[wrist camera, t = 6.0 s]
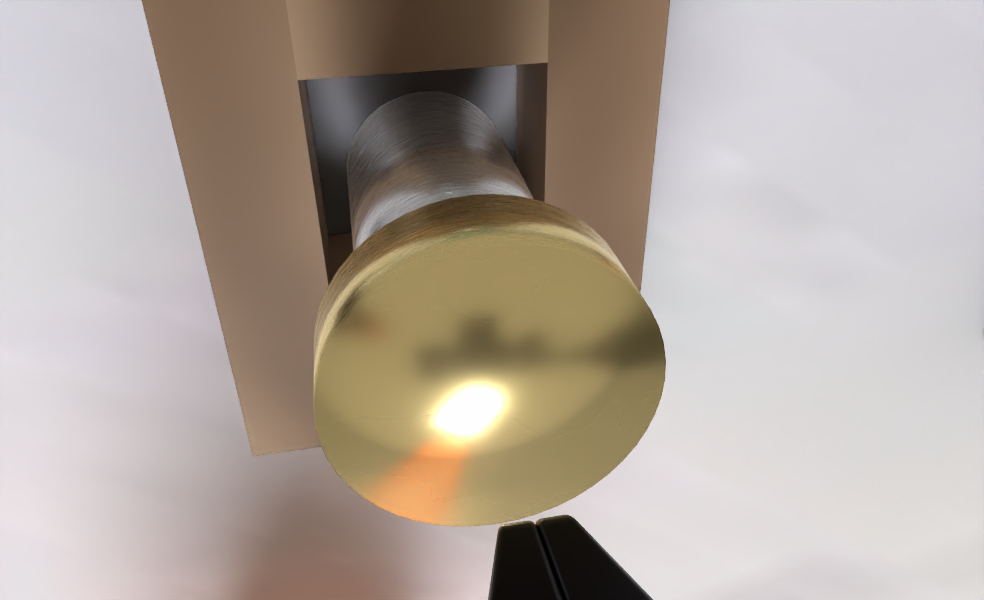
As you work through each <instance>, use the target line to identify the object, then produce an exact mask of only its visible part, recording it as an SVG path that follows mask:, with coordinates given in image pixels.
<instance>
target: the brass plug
mask: <svg viewBox="0 0 984 600" xmlns="http://www.w3.org/2000/svg"><path fill="white" fill-rule="evenodd" d="M347 181H348V194H349V206H350V218H351V230H352V242H353V252H352V253H351V254H350V256H349V257H348V258H347V259H346V261H345V262H344V263H343V264H342V266H341V267H340V268H339V269H338V271H337V272H336V274H335V276H334V277H333V279H332V281H331V282H330V284H329V286H328V287H327V289H326V292H325V294H324V297H323V299H322V302H321V304H320V307H319V311H318V315H317V319H316V323H315V333H314V417H315V426H316V430H317V434H318V437H319V441H320V444H321V446H322V448H323V451H324V453H325V455H326V457H327V459H328V461H329V462H330V464H331V465H332V467H333V468H334V469H335V471H336V472H337V474H338V475H339V476H340V477H341V478H342V479H343V480H344V481H345V482H346V483H347V484H348V485H349V486H350V488H352V489H353V490H354V491H356V492H357V493H358V494H359V495H361V496H362V497H363V498H365V499H366V500H368V501H370V502H371V503H373V504H375V505H377V506H378V507H380V508H382V509H384V510H387V511H389V512H391V513H394V514H396V515H398V516H402V517H405V518H408V519H412V520H415V521H419V522H425V523H430V524H436V525H448V526H481V525H490V524H498V523H503V522H508V521H513V520H518V519H521V518H525V517H528V516H532V515H535V514H538V513H541V512H543V511H546V510H548V509H551V508H553V507H556V506H558V505H560V504H562V503H564V502H566V501H568V500H570V499H572V498H574V497H576V496H578V495H579V494H581V493H582V492H584V491H586V490H587V489H589V488H590V487H592V486H593V485H595V484H596V483H597V482H599V481H600V480H601V479H603V478H604V477H605V476H607V475H608V474H609V473H610V472H611V471H612V470H613V469H614V468H616V467H617V466H618V465H619V464H620V463H621V462H622V461H623V460H624V459H625V458H626V457H627V455H628V454H629V453H630V452H631V451H632V450H633V448H634V447H635V446H636V445H637V443H638V442H639V440H640V439H641V437H642V436H643V435H644V433H645V432H646V430H647V428H648V426H649V424H650V422H651V421H652V419H653V417H654V415H655V412H656V410H657V407H658V404H659V401H660V399H661V395H662V391H663V386H664V381H665V367H666V359H665V350H664V343H663V339H662V336H661V332H660V329H659V326H658V324H657V322H656V320H655V318H654V316H653V314H652V312H651V310H650V308H649V307H648V305H647V303H646V302H645V300H644V299H643V297H642V296H641V294H640V292H639V291H638V289H637V288H636V286H635V285H634V283H633V281H632V280H631V278H630V277H629V275H628V274H627V272H626V271H625V269H624V267H623V266H622V264H621V263H620V261H619V260H618V258H617V256H616V255H615V254H614V252H613V251H612V249H611V248H610V247H609V245H608V244H607V243H606V241H605V240H604V239H603V238H602V237H601V236H600V235H599V234H598V233H597V232H596V231H595V230H594V229H593V228H591V227H590V226H589V225H587V224H586V223H585V222H583V221H582V220H581V219H579V218H578V217H576V216H574V215H572V214H570V213H569V212H567V211H565V210H563V209H561V208H559V207H556V206H553V205H551V204H548V203H545V202H543V201H540V200H535V199H534V198H533V196H532V194H531V193H530V191H529V189H528V187H527V185H526V183H525V181H524V179H523V177H522V176H521V174H520V172H519V170H518V168H517V166H516V164H515V162H514V160H513V159H512V157H511V155H510V153H509V151H508V149H507V147H506V145H505V143H504V142H503V140H502V138H501V136H500V134H499V132H498V130H497V128H496V127H495V125H494V124H493V122H492V121H491V120H490V118H489V117H488V116H487V115H486V114H485V113H484V112H483V111H482V110H481V109H479V108H478V107H477V106H475V105H474V104H473V103H471V102H469V101H467V100H466V99H463V98H461V97H458V96H456V95H453V94H449V93H445V92H437V91H421V92H414V93H409V94H405V95H402V96H399V97H397V98H394V99H392V100H390V101H388V102H386V103H385V104H383V105H381V106H380V107H379V108H377V109H376V110H375V111H374V112H372V113H371V114H370V115H369V116H368V117H367V118H366V119H365V121H364V122H363V123H362V125H361V126H360V127H359V129H358V130H357V132H356V134H355V136H354V138H353V140H352V143H351V145H350V148H349V153H348V157H347Z"/></svg>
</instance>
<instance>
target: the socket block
mask: <svg viewBox="0 0 984 600" xmlns="http://www.w3.org/2000/svg"><path fill="white" fill-rule="evenodd" d="M142 3H143V7H144V12H145V16H146V20H147V24H148V28H149V32H150V36H151V40H152V44H153V48H154V53H155V57H156V61H157V65H158V69H159V73H160V77H161V81H162V85H163V89H164V94H165V98H166V102H167V106H168V110H169V114H170V118H171V122H172V126H173V130H174V135H175V139H176V143H177V147H178V151H179V155H180V159H181V163H182V167H183V171H184V175H185V180H186V184H187V188H188V192H189V196H190V200H191V204H192V208H193V212H194V216H195V221H196V225H197V229H198V233H199V237H200V241H201V245H202V249H203V253H204V257H205V262H206V266H207V270H208V274H209V278H210V282H211V286H212V290H213V294H214V298H215V303H216V307H217V311H218V315H219V319H220V323H221V327H222V331H223V335H224V339H225V344H226V348H227V352H228V356H229V360H230V364H231V368H232V372H233V376H234V380H235V385H236V389H237V393H238V397H239V401H240V405H241V409H242V413H243V417H244V421H245V426H246V430H247V434H248V438H249V442H250V446H251V450H252V454H253V456H256V455H264V454H271V453H278V452H285V451H293V450H300V449H307V448H315V447H322V446H321V444H320V441H319V437H318V434H317V430H316V426H315V417H314V333H315V323H316V319H317V315H318V311H319V307H320V304H321V302H322V299H323V297H324V294H325V292H326V289H327V287H328V286H329V284H330V282H331V281H332V279H333V277H334V276H335V274H336V272H337V271H338V269H339V268H340V267H341V266H342V264H343V263H344V262H345V261H346V259H347V258H348V257H349V256H350V254H351V253H352V252H353V242H352V233H346V234H336V235H328V230H327V223H326V216H325V210H324V203H323V196H322V189H321V182H320V175H319V168H318V161H317V154H316V147H315V140H314V133H313V126H312V119H311V112H310V105H309V98H308V92H307V85H306V80H309V79H323V78H338V77H352V76H366V75H380V74H394V73H408V72H422V71H436V70H450V69H464V68H478V67H492V66H506V65H517V168H518V170H519V172H520V174H521V176H522V177H523V179H524V181H525V183H526V185H527V187H528V189H529V191H530V193H531V194H532V196H533V198H534V199H535V200H540V201H543V202H545V203H548V204H551V205H553V206H556V207H559V208H561V209H563V210H565V211H567V212H569V213H570V214H572V215H574V216H576V217H578V218H579V219H581V220H582V221H583V222H585V223H586V224H587V225H589V226H590V227H591V228H593V229H594V230H595V231H596V232H597V233H598V234H599V235H600V236H601V237H602V238H603V239H604V240H605V241H606V243H607V244H608V245H609V247H610V248H611V249H612V251H613V252H614V254H615V255H616V256H617V258H618V260H619V261H620V263H621V264H622V266H623V267H624V269H625V271H626V272H627V274H628V275H629V277H630V278H631V280H632V281H633V283H634V285H635V286H636V288H637V289H638V291H639V292H640V290H641V281H642V271H643V261H644V251H645V241H646V232H647V222H648V212H649V202H650V192H651V182H652V173H653V163H654V153H655V143H656V133H657V124H658V114H659V104H660V94H661V84H662V75H663V65H664V55H665V45H666V35H667V25H668V16H669V6H670V0H142Z"/></svg>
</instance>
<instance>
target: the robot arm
mask: <svg viewBox="0 0 984 600" xmlns="http://www.w3.org/2000/svg"><path fill="white" fill-rule="evenodd" d="M488 600H653V599H652V598H651V597H650V596H649V595H648V594H647V593H646V592H645V591H644V590H643V589H642V588H641V587H640V586H639V585H638V584H637V583H636V582H635V581H634V580H633V578H632V577H631V576H630V575H629V574H628V573H627V572H626V571H625V570H624V569H623V568H622V567H621V566H620V565H619V564H618V563H617V562H616V561H615V560H614V559H613V558H612V557H611V556H610V555H609V554H608V553H607V552H606V551H605V550H604V548H603V547H602V546H601V545H600V544H599V543H598V542H597V541H596V540H595V539H594V538H593V537H592V536H591V535H590V534H589V533H588V532H587V531H586V530H585V529H584V528H583V527H582V526H581V525H580V524H579V523H578V522H577V521H576V520H575V519H574V518H573V517H571V516H569V515H561V516H554V517H548V518H542V519H539V520H538V521H537V522H536V524H534V523H533V522H531V521H523V522H517V523H511V524H504V525H502V526H501V527H500V528H499V530H498V535H497V541H496V548H495V555H494V562H493V569H492V576H491V583H490V590H489V597H488Z"/></svg>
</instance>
